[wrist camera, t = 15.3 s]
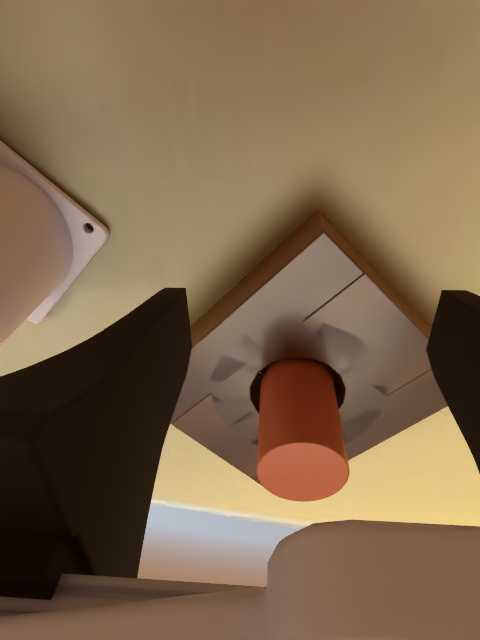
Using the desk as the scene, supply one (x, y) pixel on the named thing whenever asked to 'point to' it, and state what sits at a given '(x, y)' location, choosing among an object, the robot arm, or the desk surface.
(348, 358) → the block with round hole
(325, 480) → the peg
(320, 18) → the desk surface
